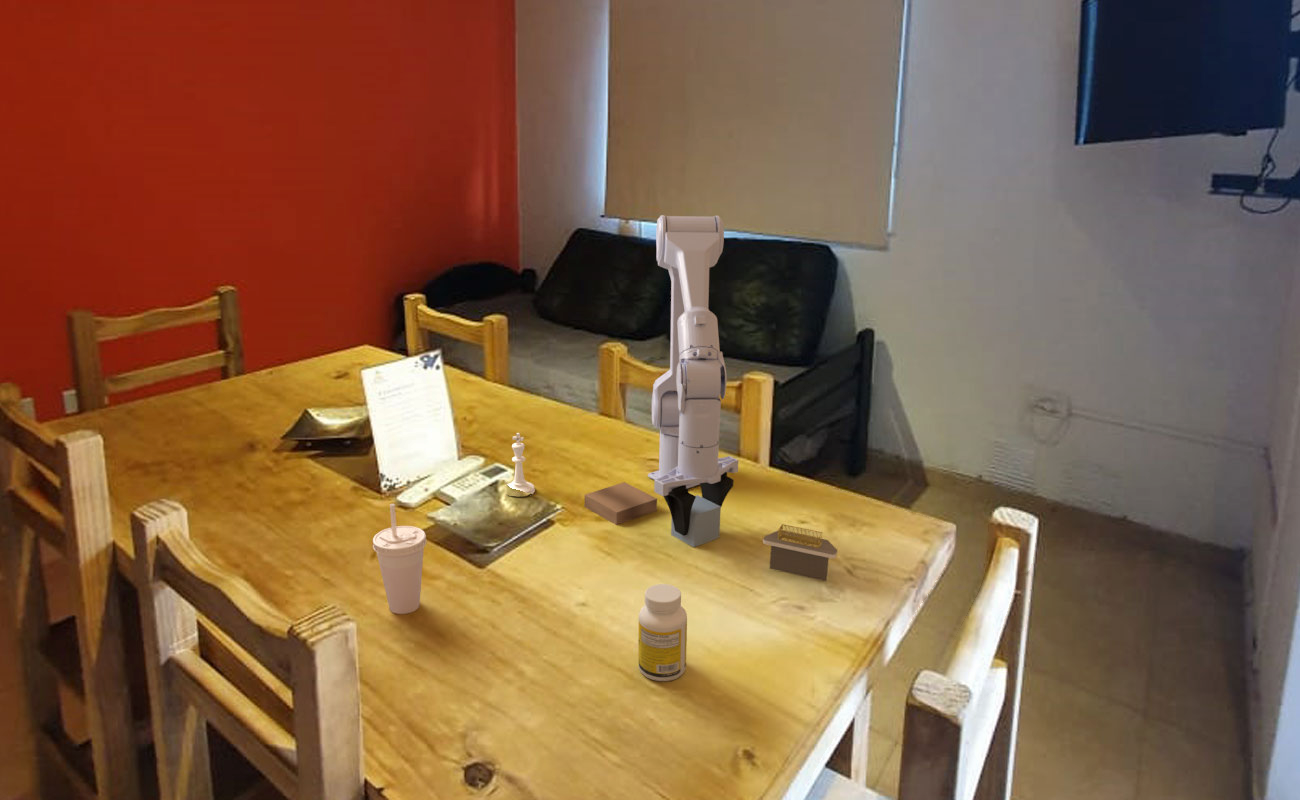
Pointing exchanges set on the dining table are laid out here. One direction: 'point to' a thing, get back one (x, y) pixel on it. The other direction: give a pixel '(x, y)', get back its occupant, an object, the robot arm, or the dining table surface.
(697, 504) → the slate cube
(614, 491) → the walnut block
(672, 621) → the supplement bottle
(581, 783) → the dining table surface
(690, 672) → the dining table surface
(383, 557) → the smoothie
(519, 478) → the chess piece
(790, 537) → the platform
